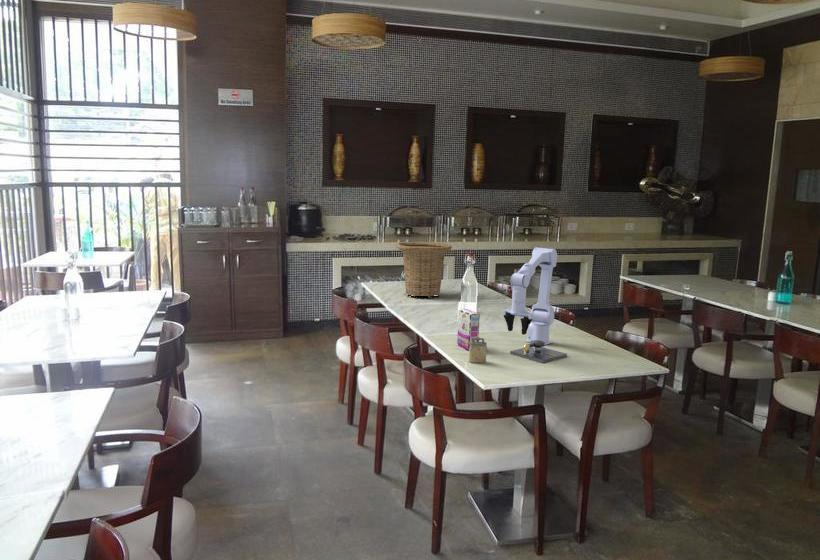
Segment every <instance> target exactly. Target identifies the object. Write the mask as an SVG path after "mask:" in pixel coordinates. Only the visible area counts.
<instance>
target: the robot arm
mask: <svg viewBox="0 0 820 560" xmlns="http://www.w3.org/2000/svg"><path fill="white" fill-rule="evenodd" d="M557 262H558V253H557V250H556V249H555V248H546V247H537V246H536V247H534V248H533V250H532V253H531V258H530V260H529V261H528V262H526V263H524V264H523V265H522V266H521V268H520V269H519V270H518V271H517V272H514V273H512V275H511V277H510V286H511V288H510V289H511V291H512V294H511V308H503V318H504V320H505V322H506V326H507V327H506V328H507V331H508V332H512V331H513V329H514V321H515V318H516V317H520V322H521V323H520V324H521V335H527V336H526V340H525V341H526V342H528V343H531V341H533V340H539V341H544V342H545V346H546V345H549V344H553V341H550V326H551V325H552V324H553V322H554V320H555V308H554V306H552V305H551V304H550V295H551V286H552V279H553V277H552V276H553V271H554V268H556V267H557ZM538 266H539V268H541V270H540V271H541V273H540V280H539V289H538V296H537V297H538V298H537V303H535V304H533V305H532V306H531V311H530V312H527V311H526V301H527V299H526V298H527V288H528V287H529V285H530V281H531V278H532V277H533V275H534V274H535V273H536V268H537V267H538Z"/></svg>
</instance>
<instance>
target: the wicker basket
mask: <svg viewBox="0 0 820 560" xmlns="http://www.w3.org/2000/svg"><path fill="white" fill-rule="evenodd" d="M452 248H453V246H452V245H451V244H448V243H443V242H431V241H429V242H427V241H405V242H404V241H403V242H398V243H397V244H396V249H398V250H400V251H401V253H402V257H403V267H404V268H403V269H404V281H405V282H404V283H405V284H404V285H405V295H406V294H408V295H414V297H415V296H434V295H438V294H439V293H440V292H441V286H442V279H443V269H444V263H445V262H444V261H445V256H446V254H447V252H449V251H451V250H452ZM439 295H440V294H439Z"/></svg>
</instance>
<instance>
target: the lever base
mask: <svg viewBox="0 0 820 560" xmlns="http://www.w3.org/2000/svg"><path fill="white" fill-rule="evenodd" d="M523 351H524V347H522V348H518V349H513V350H510V351H509V352H510V353H509V354H510V355H512V354H513V355H512V356H516V355H517V356H516V357H519V356H520V358H524V359H526V358H527V359H526V360H531V361H534V362H538V363H541V364H544V363H547V362H551V361H555V359H556V360H558V359H562V358H565V357H566V358H567V357H568V354H567V353H566V352H562V351H560V350H559V351H558V350H554V349H551V348H548V347H545V346H544V347H534V346H533V347H529V353H523Z"/></svg>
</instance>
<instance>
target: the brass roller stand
mask: <svg viewBox="0 0 820 560" xmlns="http://www.w3.org/2000/svg"><path fill="white" fill-rule="evenodd" d="M533 346H534V347H544V348H545V346H546V345H545V342H544V341H539V340H533V341H531V342H530V343H524V344H523V348H524V351H523V353H529V347H533Z"/></svg>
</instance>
